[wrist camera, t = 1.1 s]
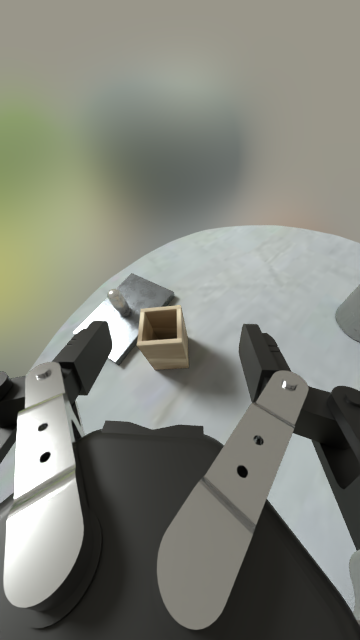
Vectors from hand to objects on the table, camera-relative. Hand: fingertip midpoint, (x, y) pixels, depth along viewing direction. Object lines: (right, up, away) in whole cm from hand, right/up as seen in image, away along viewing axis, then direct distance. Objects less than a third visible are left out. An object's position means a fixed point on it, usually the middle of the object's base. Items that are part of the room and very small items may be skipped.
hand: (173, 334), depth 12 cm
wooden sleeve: (-1, -5, +24) cm, 25 cm away
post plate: (-11, +2, +30) cm, 32 cm away
